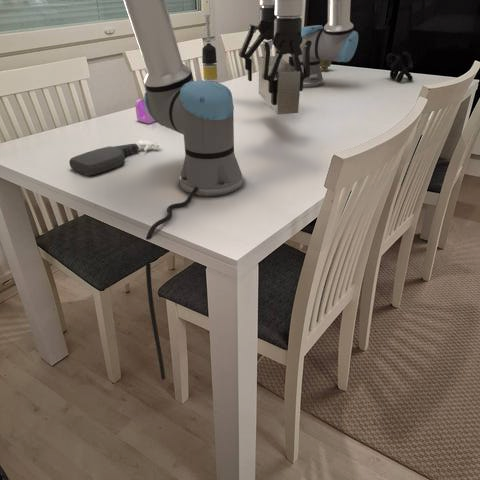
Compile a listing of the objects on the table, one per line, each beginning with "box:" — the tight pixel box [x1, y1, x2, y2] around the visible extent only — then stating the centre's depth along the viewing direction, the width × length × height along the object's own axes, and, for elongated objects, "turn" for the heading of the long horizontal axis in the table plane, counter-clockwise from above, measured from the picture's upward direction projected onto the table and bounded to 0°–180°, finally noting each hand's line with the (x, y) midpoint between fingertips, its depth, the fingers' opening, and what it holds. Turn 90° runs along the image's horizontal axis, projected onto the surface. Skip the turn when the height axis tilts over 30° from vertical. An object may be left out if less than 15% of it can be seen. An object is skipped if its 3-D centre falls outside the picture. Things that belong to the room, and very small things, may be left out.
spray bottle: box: [68, 139, 160, 177], centre depth 124 cm, size 3×11×24 cm
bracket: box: [134, 98, 156, 124], centre depth 156 cm, size 13×6×7 cm, turn 143°
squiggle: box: [385, 51, 414, 83], centre depth 198 cm, size 11×10×15 cm
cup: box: [320, 60, 333, 72], centre depth 218 cm, size 8×7×8 cm
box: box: [258, 55, 300, 116], centre depth 138 cm, size 26×6×12 cm, turn 10°
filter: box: [201, 14, 219, 83], centre depth 171 cm, size 6×6×30 cm
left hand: (284, 103), depth 133 cm, fingers closed on box, 6 cm apart
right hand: (270, 79), depth 146 cm, fingers open, 13 cm apart
